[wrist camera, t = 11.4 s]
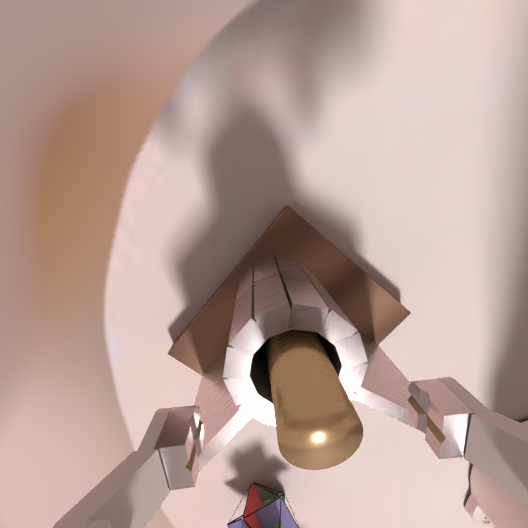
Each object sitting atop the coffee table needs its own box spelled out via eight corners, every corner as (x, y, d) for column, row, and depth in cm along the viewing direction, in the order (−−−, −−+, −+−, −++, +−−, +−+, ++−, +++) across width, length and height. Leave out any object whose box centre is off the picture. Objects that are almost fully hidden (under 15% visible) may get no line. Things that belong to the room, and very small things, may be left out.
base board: (400, 305, 22) (411, 312, 21) (287, 417, 25) (289, 430, 24) (286, 206, 20) (288, 206, 18) (173, 343, 22) (167, 353, 21)
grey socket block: (386, 333, 21) (477, 425, 13) (288, 427, 24) (308, 561, 15) (272, 240, 19) (288, 275, 10) (175, 356, 21) (120, 467, 12)
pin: (303, 293, 20) (380, 430, 9) (279, 319, 21) (322, 481, 9) (275, 272, 19) (319, 389, 8) (252, 299, 20) (260, 447, 8)
